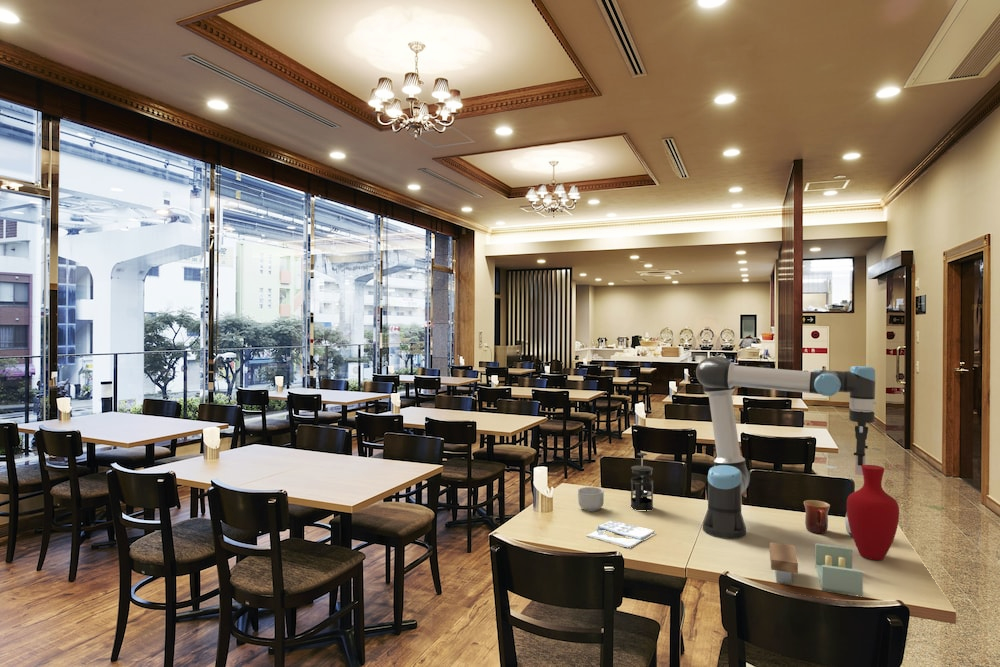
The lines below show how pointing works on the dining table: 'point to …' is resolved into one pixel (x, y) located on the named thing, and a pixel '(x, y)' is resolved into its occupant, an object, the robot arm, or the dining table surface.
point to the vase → (872, 515)
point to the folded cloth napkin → (622, 533)
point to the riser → (783, 577)
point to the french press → (640, 495)
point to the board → (783, 558)
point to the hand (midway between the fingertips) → (860, 470)
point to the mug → (816, 516)
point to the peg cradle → (837, 570)
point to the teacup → (590, 498)
